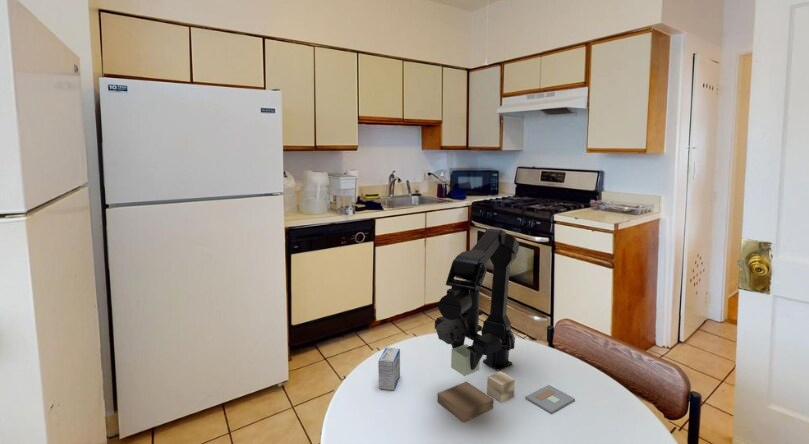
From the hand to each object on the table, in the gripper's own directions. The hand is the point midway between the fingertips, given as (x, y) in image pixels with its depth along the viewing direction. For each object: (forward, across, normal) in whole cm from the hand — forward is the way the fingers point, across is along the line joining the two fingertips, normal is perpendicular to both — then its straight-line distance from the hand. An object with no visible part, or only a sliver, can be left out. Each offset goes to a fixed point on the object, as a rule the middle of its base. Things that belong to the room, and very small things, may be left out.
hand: (465, 364), depth 106 cm
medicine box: (+11, -20, -10) cm, 25 cm away
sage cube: (+1, 0, 0) cm, 1 cm away
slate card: (+11, +11, +20) cm, 25 cm away
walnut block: (+12, 0, 0) cm, 12 cm away
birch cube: (+11, +2, +11) cm, 16 cm away
